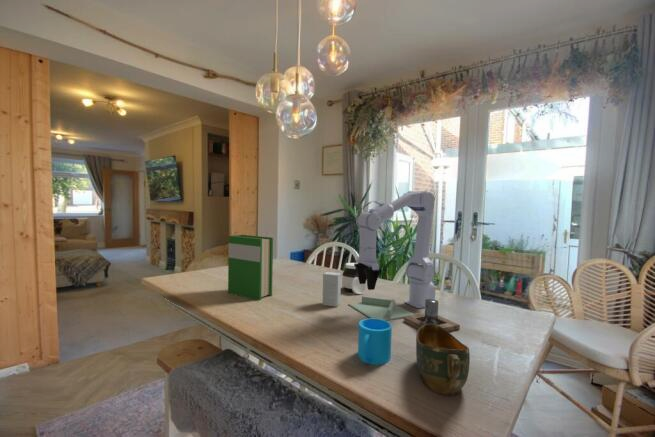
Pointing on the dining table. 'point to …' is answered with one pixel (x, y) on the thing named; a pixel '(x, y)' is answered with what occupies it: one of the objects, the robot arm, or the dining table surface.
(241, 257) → the hardback book
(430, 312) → the metal axle
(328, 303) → the skincare box
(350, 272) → the spread jar
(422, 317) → the brown square frame
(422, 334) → the cup
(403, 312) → the sage V-block
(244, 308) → the dining table surface
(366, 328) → the mug
